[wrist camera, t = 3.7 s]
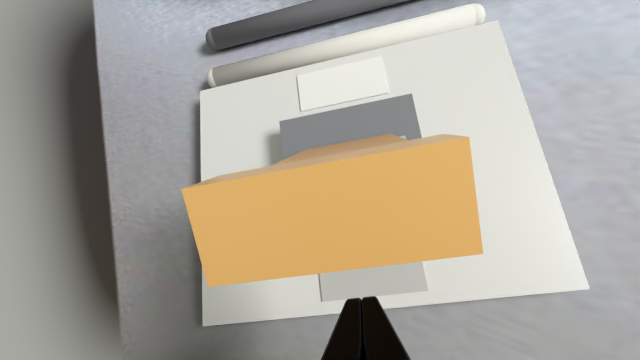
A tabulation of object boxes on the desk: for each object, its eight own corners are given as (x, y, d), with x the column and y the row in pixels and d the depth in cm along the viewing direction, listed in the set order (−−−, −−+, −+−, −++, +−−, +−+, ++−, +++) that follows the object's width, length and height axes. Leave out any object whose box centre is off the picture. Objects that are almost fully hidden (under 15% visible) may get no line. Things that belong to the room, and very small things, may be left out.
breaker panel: (573, 286, 14) (611, 292, 12) (214, 322, 17) (187, 331, 15) (490, 35, 18) (506, 0, 16) (210, 100, 21) (187, 79, 19)
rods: (464, -28, 19) (470, -49, 18) (483, 32, 18) (491, 14, 17) (212, 39, 22) (201, 25, 21) (213, 95, 21) (202, 84, 20)
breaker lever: (407, 164, 15) (504, 251, 5) (302, 182, 15) (192, 289, 5) (401, 126, 14) (491, 133, 4) (294, 147, 15) (165, 191, 5)
